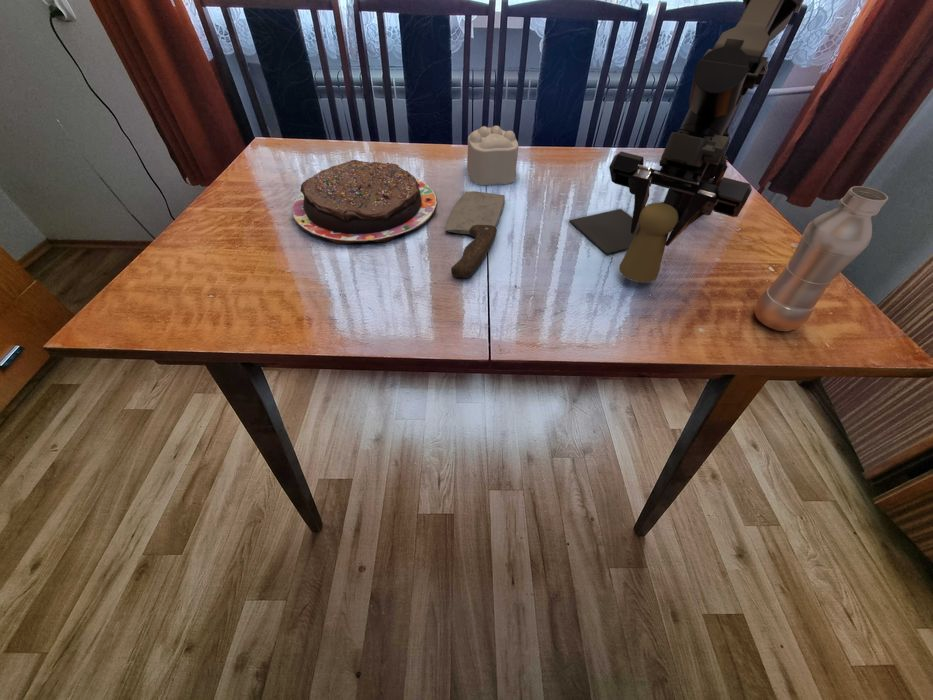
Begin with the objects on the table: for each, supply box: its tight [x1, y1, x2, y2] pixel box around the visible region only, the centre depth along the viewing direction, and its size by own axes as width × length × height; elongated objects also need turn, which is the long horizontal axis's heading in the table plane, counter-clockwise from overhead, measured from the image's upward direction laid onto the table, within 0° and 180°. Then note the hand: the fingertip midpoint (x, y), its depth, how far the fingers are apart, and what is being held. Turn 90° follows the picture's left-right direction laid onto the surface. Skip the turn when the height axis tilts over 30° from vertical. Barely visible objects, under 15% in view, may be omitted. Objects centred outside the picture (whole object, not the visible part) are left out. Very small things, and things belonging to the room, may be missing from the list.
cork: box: [618, 202, 678, 284], centre depth 63 cm, size 6×6×11 cm
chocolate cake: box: [291, 159, 438, 245], centre depth 81 cm, size 28×28×7 cm
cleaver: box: [444, 190, 506, 279], centre depth 77 cm, size 29×10×2 cm, turn 169°
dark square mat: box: [569, 208, 640, 256], centre depth 79 cm, size 12×12×1 cm
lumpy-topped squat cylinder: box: [466, 125, 519, 186], centre depth 92 cm, size 10×13×9 cm
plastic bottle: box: [753, 185, 889, 332], centre depth 55 cm, size 6×7×20 cm
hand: (648, 239), depth 61 cm, fingers closed on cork, 5 cm apart
